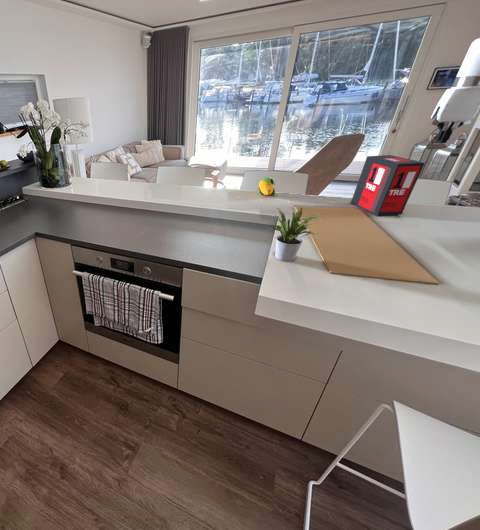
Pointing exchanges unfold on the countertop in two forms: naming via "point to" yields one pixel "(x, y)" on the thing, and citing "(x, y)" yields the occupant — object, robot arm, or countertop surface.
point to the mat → (360, 246)
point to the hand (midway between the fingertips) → (440, 142)
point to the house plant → (291, 235)
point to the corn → (267, 187)
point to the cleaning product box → (386, 184)
